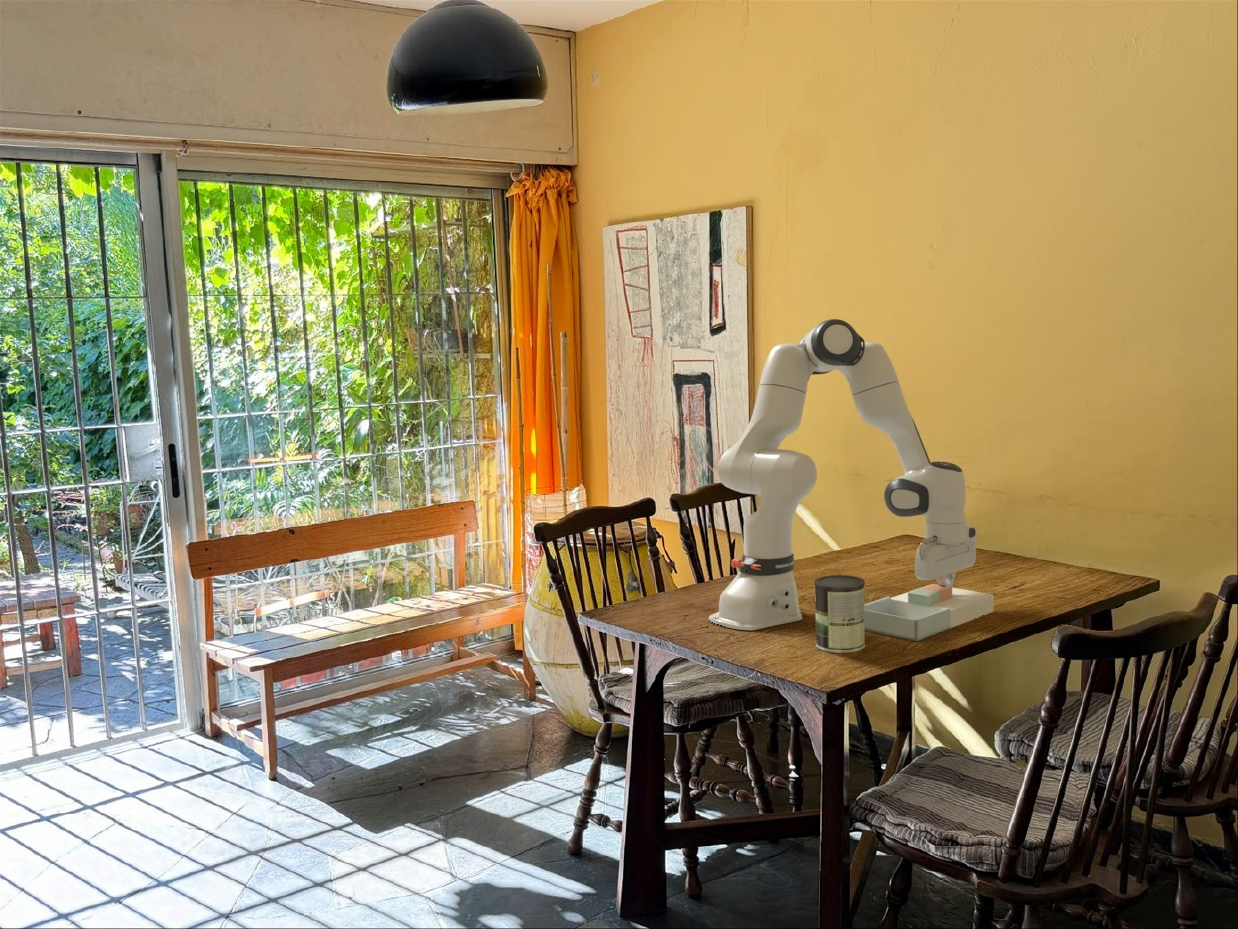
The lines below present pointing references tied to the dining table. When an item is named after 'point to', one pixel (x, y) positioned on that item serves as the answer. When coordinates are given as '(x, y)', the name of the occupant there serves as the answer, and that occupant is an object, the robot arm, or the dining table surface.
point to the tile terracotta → (941, 591)
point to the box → (903, 621)
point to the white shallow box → (947, 606)
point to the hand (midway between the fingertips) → (945, 592)
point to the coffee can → (839, 613)
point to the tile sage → (924, 597)
